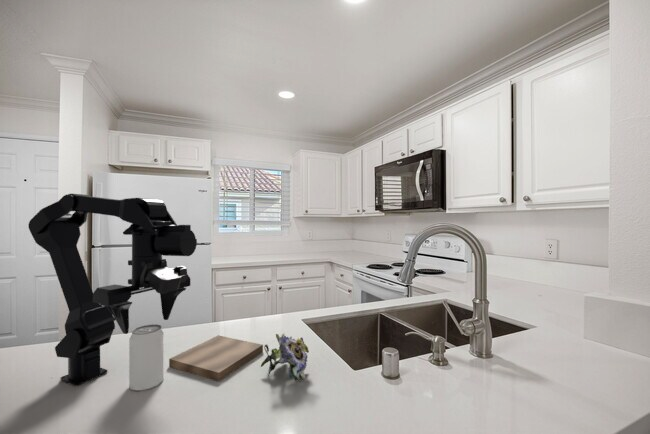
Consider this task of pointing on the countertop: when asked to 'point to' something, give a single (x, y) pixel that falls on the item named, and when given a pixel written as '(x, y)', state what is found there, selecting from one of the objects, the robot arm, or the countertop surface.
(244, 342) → the cutting board
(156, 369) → the can
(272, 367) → the passion flower
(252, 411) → the countertop surface
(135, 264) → the robot arm
